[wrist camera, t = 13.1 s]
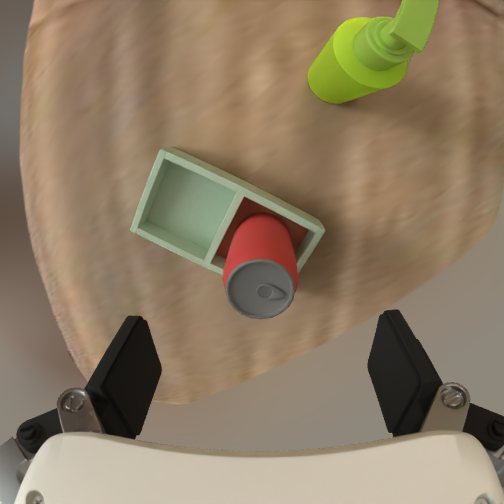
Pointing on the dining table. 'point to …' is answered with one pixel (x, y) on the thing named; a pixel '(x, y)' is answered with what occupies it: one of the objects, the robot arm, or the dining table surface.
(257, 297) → the beer can
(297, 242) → the divided tray
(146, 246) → the dining table surface
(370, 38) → the soap dispenser
